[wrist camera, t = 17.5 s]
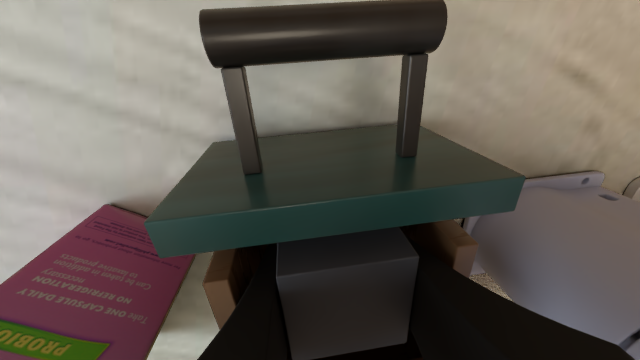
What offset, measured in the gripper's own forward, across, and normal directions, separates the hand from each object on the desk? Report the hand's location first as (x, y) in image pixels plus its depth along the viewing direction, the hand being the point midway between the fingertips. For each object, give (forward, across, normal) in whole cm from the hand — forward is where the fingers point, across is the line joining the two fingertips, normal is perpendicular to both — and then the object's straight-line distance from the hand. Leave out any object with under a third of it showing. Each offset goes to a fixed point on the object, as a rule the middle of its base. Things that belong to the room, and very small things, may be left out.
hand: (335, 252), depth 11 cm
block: (+1, 0, 0) cm, 1 cm away
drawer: (+4, 0, -1) cm, 4 cm away
